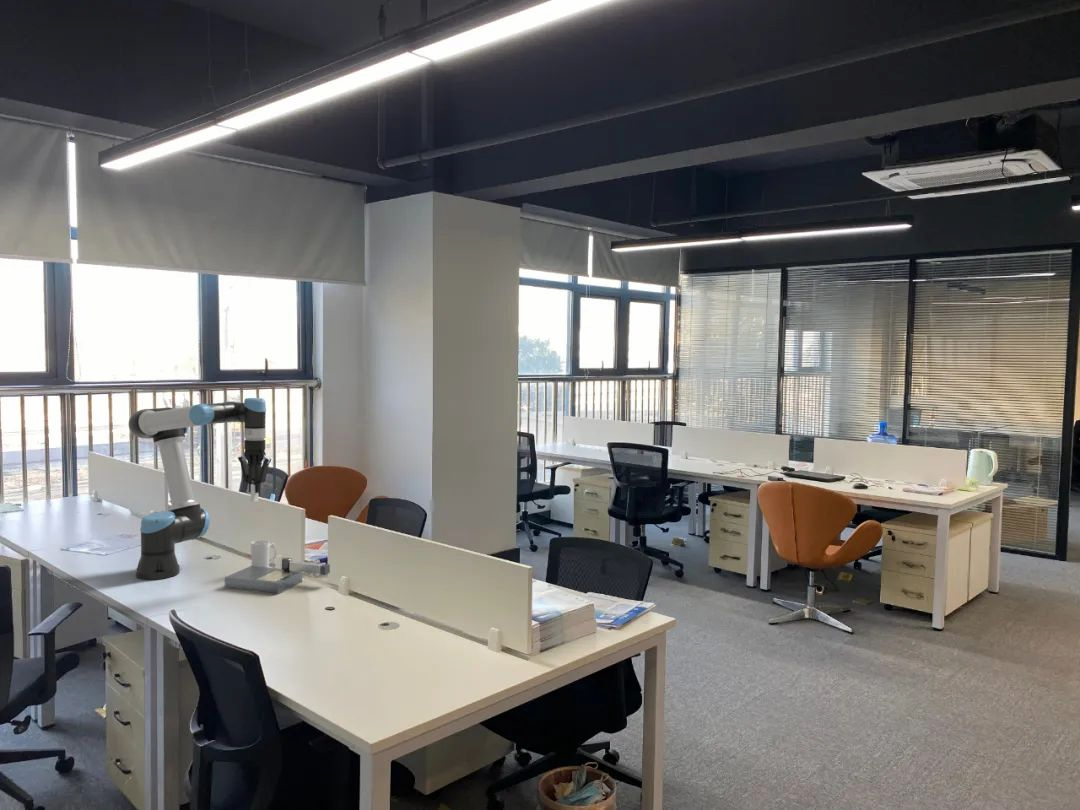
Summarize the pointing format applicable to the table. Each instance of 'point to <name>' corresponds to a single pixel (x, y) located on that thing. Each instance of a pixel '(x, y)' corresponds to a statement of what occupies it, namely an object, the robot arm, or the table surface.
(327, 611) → the table surface
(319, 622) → the table surface
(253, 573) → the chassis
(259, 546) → the mug
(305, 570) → the cable arm
